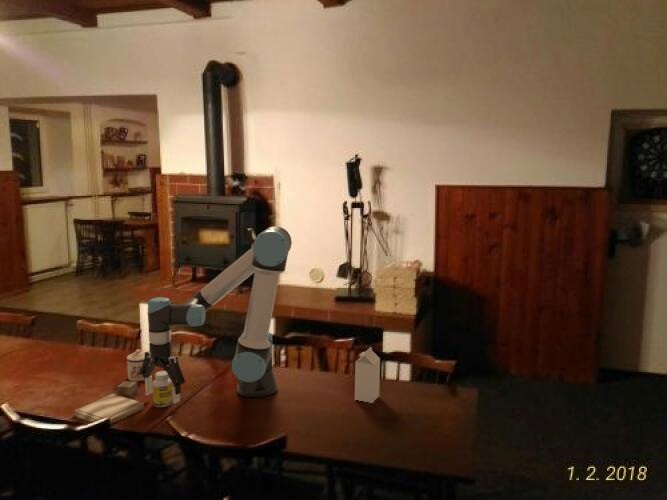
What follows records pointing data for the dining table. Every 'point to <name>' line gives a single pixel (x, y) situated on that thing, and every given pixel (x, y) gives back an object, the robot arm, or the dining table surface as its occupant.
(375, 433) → the dining table surface
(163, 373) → the pill bottle
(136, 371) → the teacup with lid
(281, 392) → the dining table surface
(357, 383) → the milk carton
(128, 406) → the beech board
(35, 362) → the dining table surface
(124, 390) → the walnut cube
